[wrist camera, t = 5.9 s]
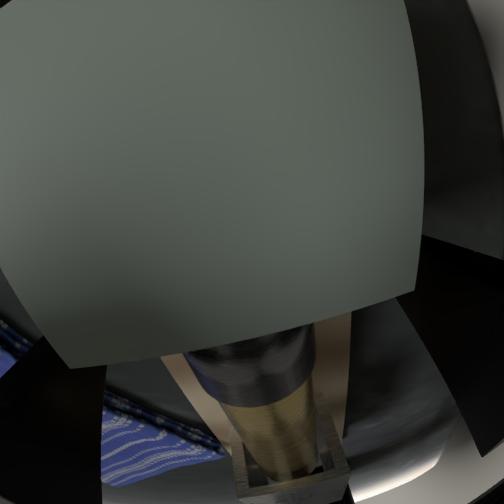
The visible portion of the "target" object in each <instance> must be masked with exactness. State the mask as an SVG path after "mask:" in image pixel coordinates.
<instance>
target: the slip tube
mask: <svg viewBox="0 0 504 504" xmlns="http://www.w3.org/2000/svg"><path fill="white" fill-rule="evenodd" d="M182 354H183V356H184V358H185V360H186V361H187V363H188V365H189V367H190V368H191V370H192V372H193V373H194V375H195V377H196V379H197V380H198V382H199V384H200V385H201V387H202V388H203V389H204V391H205V392H206V393H207V394H208V395H210V396H211V397H212V398H214V399H215V400H217V401H218V403H219V404H220V406H221V408H222V409H223V411H224V413H225V414H226V416H227V418H228V419H229V421H230V422H231V424H232V426H233V427H234V429H235V430H236V432H237V434H238V435H239V437H240V438H241V440H242V441H243V443H244V444H245V446H246V447H247V449H248V450H249V452H250V453H251V455H252V456H253V458H254V459H255V461H256V462H257V464H258V465H259V467H260V468H261V470H262V471H263V472H264V474H265V475H266V476H268V477H269V478H270V479H272V480H274V481H277V482H286V481H290V480H295V479H299V478H303V477H307V476H308V475H309V474H310V473H311V472H312V471H313V470H314V468H315V467H316V465H317V462H318V440H317V426H316V414H315V402H314V390H313V380H312V370H313V368H314V365H315V361H316V354H317V349H316V337H315V326H314V322H313V323H310V324H306V325H303V326H299V327H295V328H291V329H288V330H284V331H280V332H276V333H272V334H268V335H264V336H260V337H255V338H251V339H247V340H243V341H238V342H234V343H229V344H224V345H220V346H215V347H210V348H205V349H200V350H195V351H190V352H185V353H182Z"/></svg>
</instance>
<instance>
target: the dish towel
mask: <svg viewBox="0 0 504 504" xmlns="http://www.w3.org/2000/svg"><path fill="white" fill-rule="evenodd" d="M32 346H33V344H32V343H30V342H29V341H27V340H26V339H25V338H23V337H22V336H21V335H19V334H18V333H16V332H15V331H14V330H13V329H11V328H10V327H9V326H8V325H7V324H5V323H4V322H3V321H2V320H0V378H1V377H2V376H3V375H4V374H5V373H6V372H7V371H8V370H9V369H10V368H11V367H12V366H13V365H14V364H15V363H16V362H17V361H19V359H20V358H21V357H22V356H23V355H24V354H25V353H26V352H27V351H28V350H29V349H30V348H31V347H32ZM219 443H221V442H220V441H219V440H218V438H217V439H214V438H213V437H212V436H210V435H208V434H206V433H204V432H202V431H201V430H199V429H195V428H192V427H189V426H187V425H184V424H181V423H179V422H176V421H174V420H171V419H169V418H167V417H165V416H163V415H160V414H157V413H155V412H152V411H150V410H148V409H146V408H143V407H141V406H139V405H137V404H135V403H133V402H131V401H129V400H127V399H125V398H123V397H120V396H118V395H116V394H114V393H112V392H110V391H108V390H106V389H105V391H104V403H103V418H102V440H101V482H104V483H107V484H110V485H113V486H115V487H122V486H123V485H127V484H131V483H134V482H137V481H140V480H143V479H146V478H149V477H152V476H155V475H158V474H161V473H163V472H165V471H168V470H171V469H173V468H177V467H180V466H185V465H192V464H197V463H201V462H205V461H208V460H216V459H220V458H223V457H225V456H226V455H225V452H224V450H223V448H222V447H221V445H220V444H219Z"/></svg>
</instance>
